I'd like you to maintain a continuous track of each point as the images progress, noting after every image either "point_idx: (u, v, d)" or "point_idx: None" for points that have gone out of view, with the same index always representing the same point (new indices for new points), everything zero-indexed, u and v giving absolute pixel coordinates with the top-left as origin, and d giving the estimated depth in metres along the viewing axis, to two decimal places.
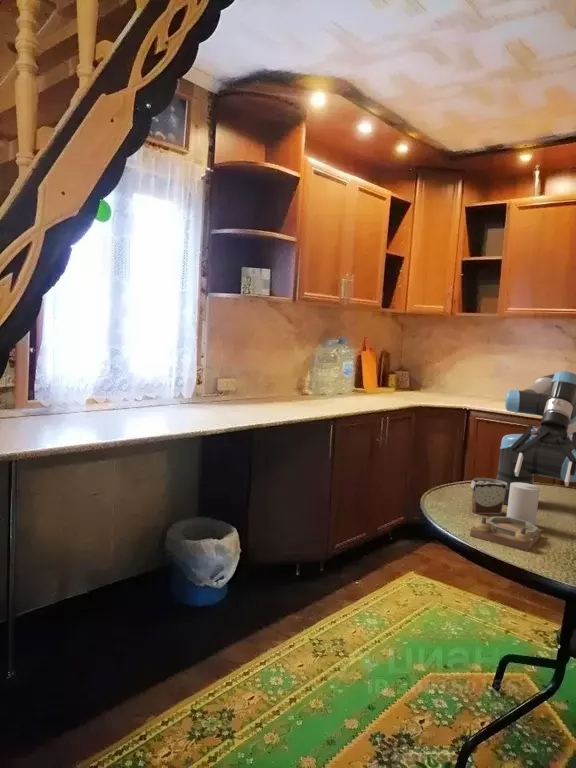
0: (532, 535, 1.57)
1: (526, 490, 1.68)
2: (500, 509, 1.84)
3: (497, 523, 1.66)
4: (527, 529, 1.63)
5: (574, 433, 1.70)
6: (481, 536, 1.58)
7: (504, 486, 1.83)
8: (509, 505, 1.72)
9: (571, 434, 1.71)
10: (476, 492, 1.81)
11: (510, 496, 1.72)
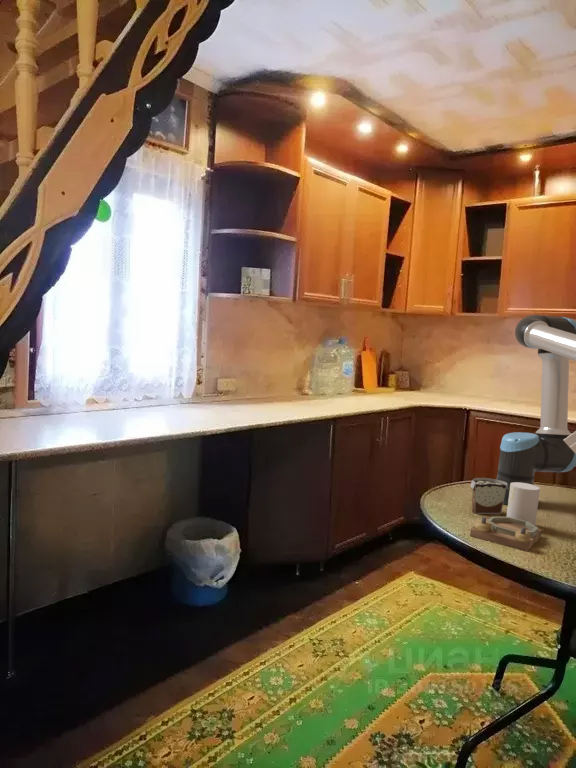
0: (532, 535, 1.57)
1: (526, 490, 1.68)
2: (500, 509, 1.84)
3: (497, 523, 1.66)
4: (527, 529, 1.63)
5: None
6: (481, 536, 1.58)
7: (504, 486, 1.83)
8: (509, 505, 1.72)
9: None
10: (476, 492, 1.81)
11: (510, 496, 1.72)
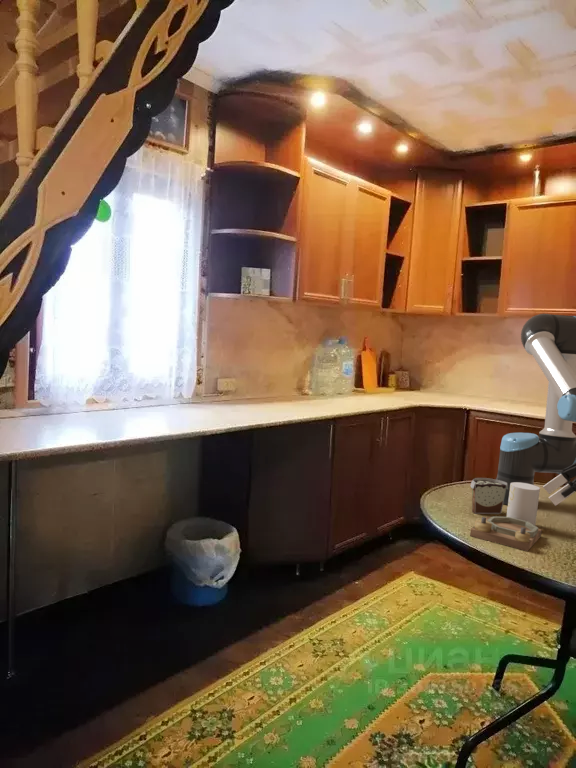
0: (532, 535, 1.57)
1: (526, 490, 1.68)
2: (500, 509, 1.84)
3: (497, 523, 1.66)
4: (527, 529, 1.63)
5: None
6: (481, 536, 1.58)
7: (504, 486, 1.83)
8: (509, 505, 1.72)
9: None
10: (476, 492, 1.81)
11: (510, 496, 1.72)
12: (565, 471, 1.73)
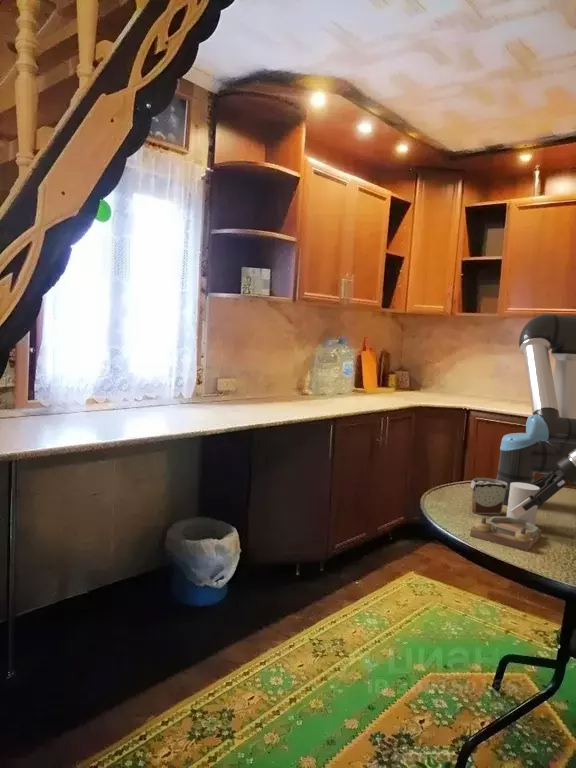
0: (532, 535, 1.57)
1: (526, 490, 1.68)
2: (500, 509, 1.84)
3: (497, 523, 1.66)
4: (527, 529, 1.63)
5: None
6: (481, 536, 1.58)
7: (504, 486, 1.83)
8: (509, 505, 1.72)
9: None
10: (476, 492, 1.81)
11: (510, 496, 1.72)
12: None
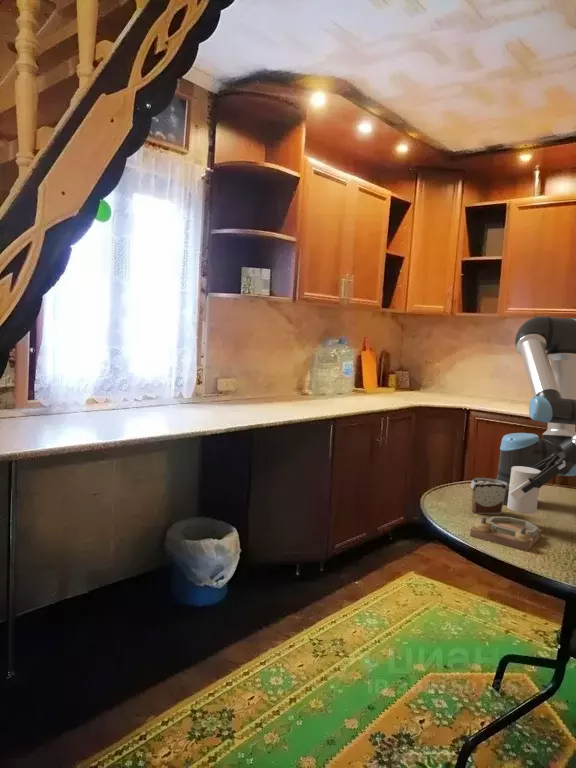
0: (532, 535, 1.57)
1: (527, 474, 1.67)
2: (500, 509, 1.84)
3: (497, 523, 1.66)
4: (527, 529, 1.63)
5: None
6: (481, 536, 1.58)
7: (504, 486, 1.83)
8: (510, 489, 1.72)
9: None
10: (476, 492, 1.81)
11: (511, 480, 1.71)
12: None
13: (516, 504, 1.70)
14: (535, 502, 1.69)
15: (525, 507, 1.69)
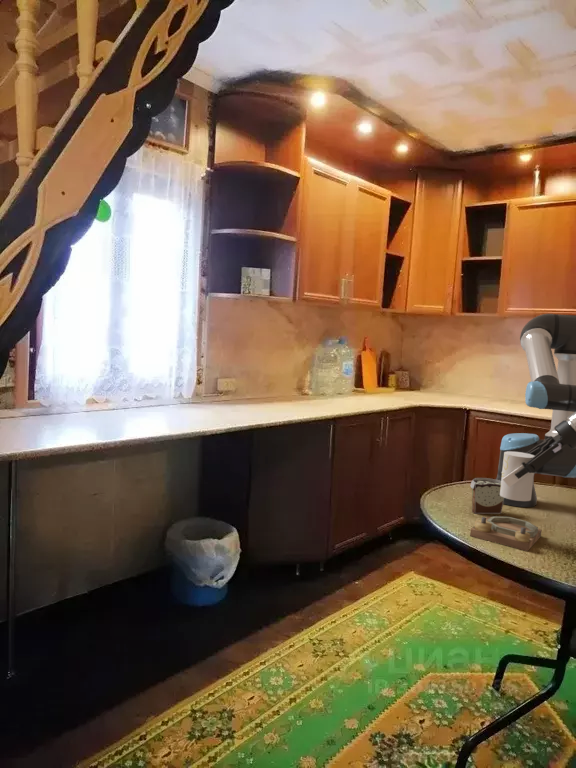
0: (532, 535, 1.57)
1: (521, 458, 1.57)
2: (500, 509, 1.84)
3: (497, 523, 1.66)
4: (527, 529, 1.63)
5: None
6: (481, 536, 1.58)
7: None
8: (503, 475, 1.61)
9: None
10: (476, 492, 1.81)
11: (504, 465, 1.61)
12: None
13: (510, 491, 1.59)
14: (529, 489, 1.58)
15: (518, 494, 1.58)
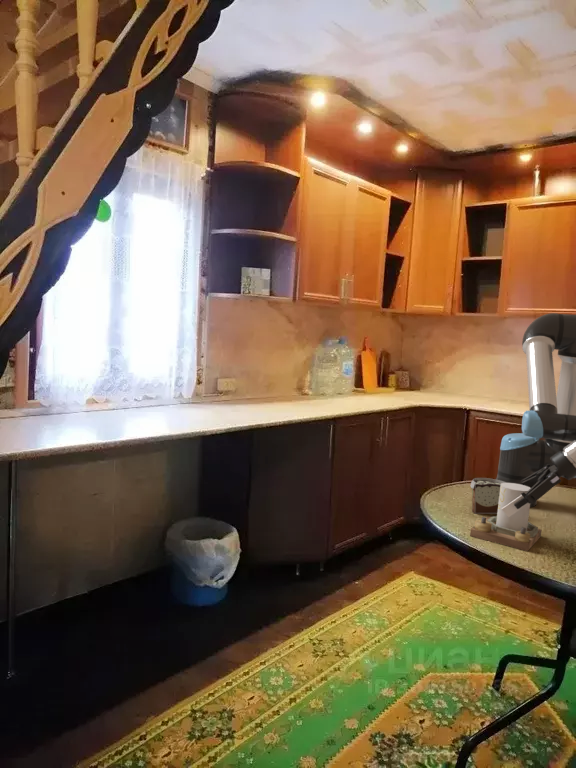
0: (532, 535, 1.57)
1: (517, 491, 1.58)
2: None
3: None
4: (527, 529, 1.63)
5: None
6: (481, 536, 1.58)
7: None
8: (499, 507, 1.62)
9: None
10: (476, 492, 1.81)
11: (500, 498, 1.61)
12: (523, 482, 1.66)
13: (506, 524, 1.59)
14: (525, 521, 1.59)
15: (514, 526, 1.58)
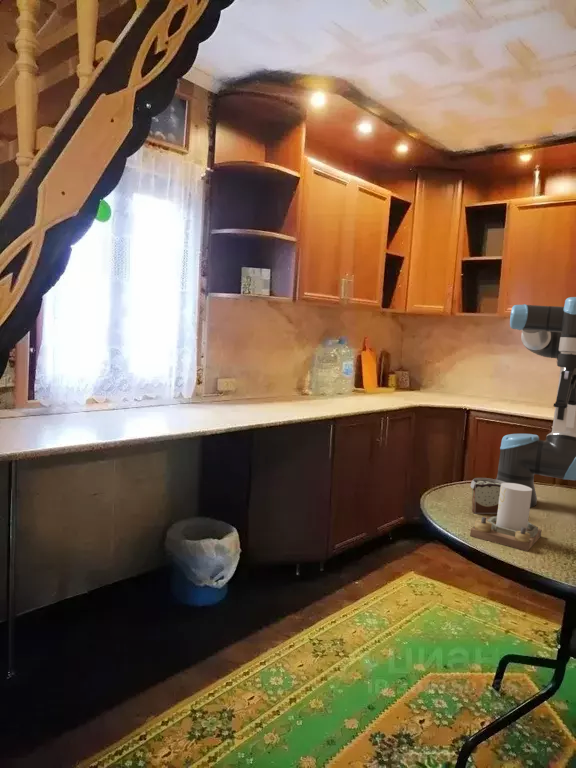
0: (532, 535, 1.57)
1: (518, 491, 1.58)
2: None
3: None
4: (527, 529, 1.63)
5: None
6: (481, 536, 1.58)
7: None
8: (499, 507, 1.62)
9: None
10: (476, 492, 1.81)
11: (501, 498, 1.61)
12: None
13: (506, 524, 1.59)
14: (525, 521, 1.59)
15: (514, 527, 1.58)
